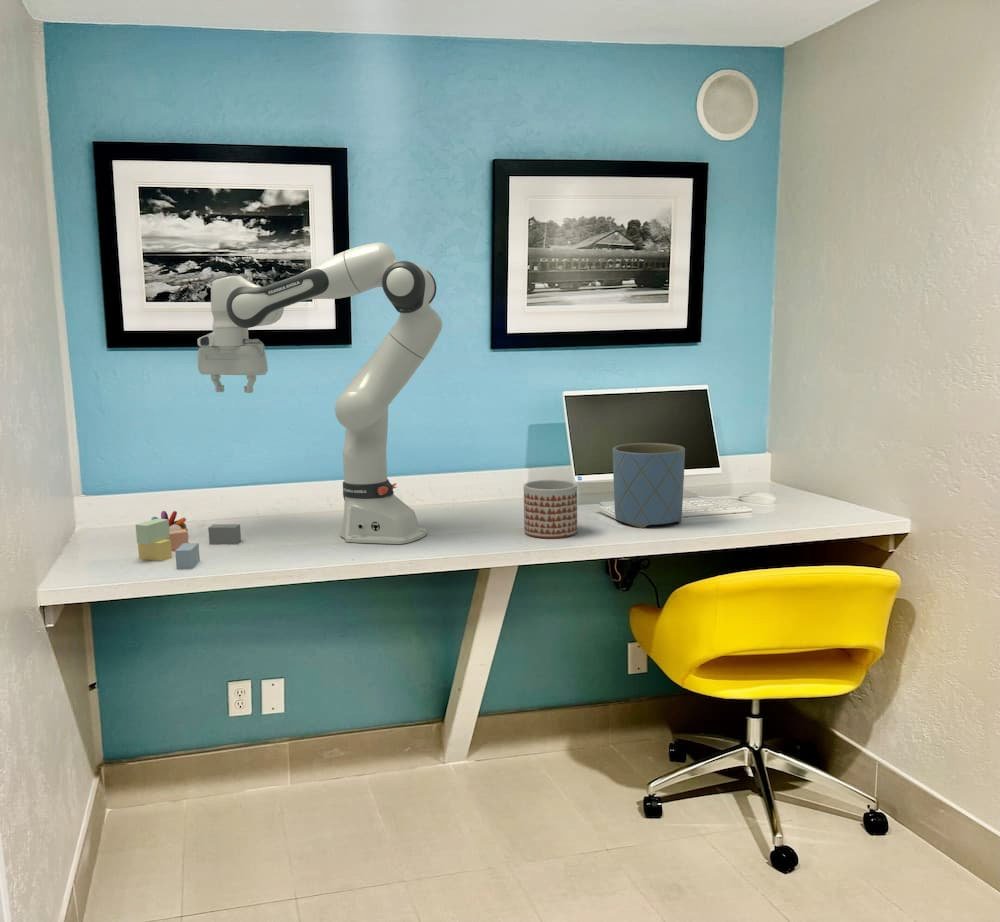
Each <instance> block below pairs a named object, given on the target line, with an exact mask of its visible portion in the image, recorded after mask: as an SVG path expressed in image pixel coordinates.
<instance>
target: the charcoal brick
mask: <svg viewBox="0 0 1000 922" xmlns="http://www.w3.org/2000/svg"><path fill="white" fill-rule="evenodd" d="M207 529H208V541H209V545H238V544H239V543H241V542H242V535H241V534H242V533H241V524H239V523H238V524H237V523H236V524H234V523H233V524H232V523H231V524H230V523H229V524H228V523H225V524H223V523H221V524H220V523H218V524H216V523H215V524H212V525H210V526H208V528H207Z"/></svg>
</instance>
